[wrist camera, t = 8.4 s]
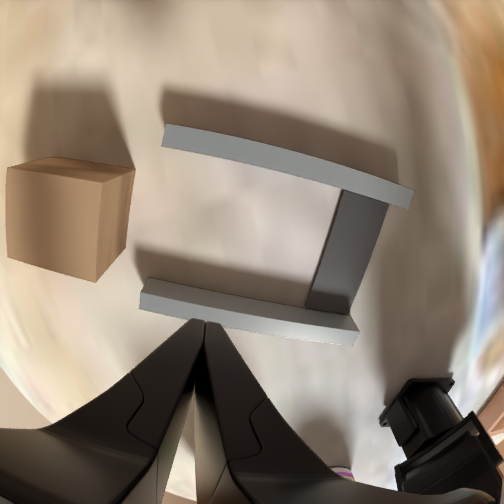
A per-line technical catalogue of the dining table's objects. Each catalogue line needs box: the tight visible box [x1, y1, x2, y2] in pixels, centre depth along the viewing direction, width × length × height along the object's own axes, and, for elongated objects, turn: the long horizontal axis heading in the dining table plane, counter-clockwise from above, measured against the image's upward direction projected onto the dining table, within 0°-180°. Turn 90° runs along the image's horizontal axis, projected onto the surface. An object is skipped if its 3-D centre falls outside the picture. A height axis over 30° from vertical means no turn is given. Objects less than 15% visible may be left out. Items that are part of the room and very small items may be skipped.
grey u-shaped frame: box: [139, 124, 415, 346], centre depth 18 cm, size 14×11×2 cm
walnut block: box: [6, 157, 135, 283], centre depth 15 cm, size 6×5×5 cm
